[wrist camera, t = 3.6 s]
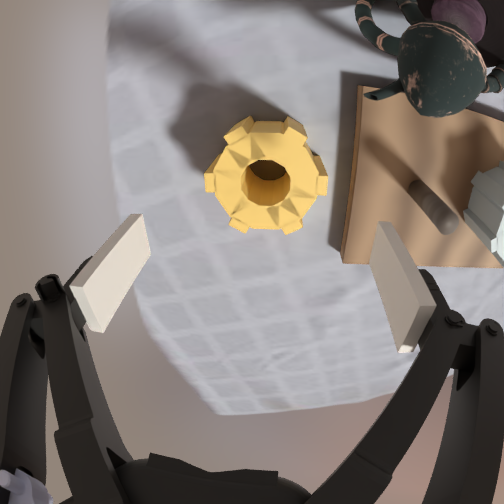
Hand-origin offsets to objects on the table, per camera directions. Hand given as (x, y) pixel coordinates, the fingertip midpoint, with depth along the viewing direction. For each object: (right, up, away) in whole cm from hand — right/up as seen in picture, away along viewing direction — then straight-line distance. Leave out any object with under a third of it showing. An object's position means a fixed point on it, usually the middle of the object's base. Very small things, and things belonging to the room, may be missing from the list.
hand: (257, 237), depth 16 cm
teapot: (+20, +25, -11) cm, 34 cm away
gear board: (+21, +6, +10) cm, 24 cm away
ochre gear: (+1, +8, +11) cm, 14 cm away
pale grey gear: (+27, +5, +8) cm, 28 cm away
